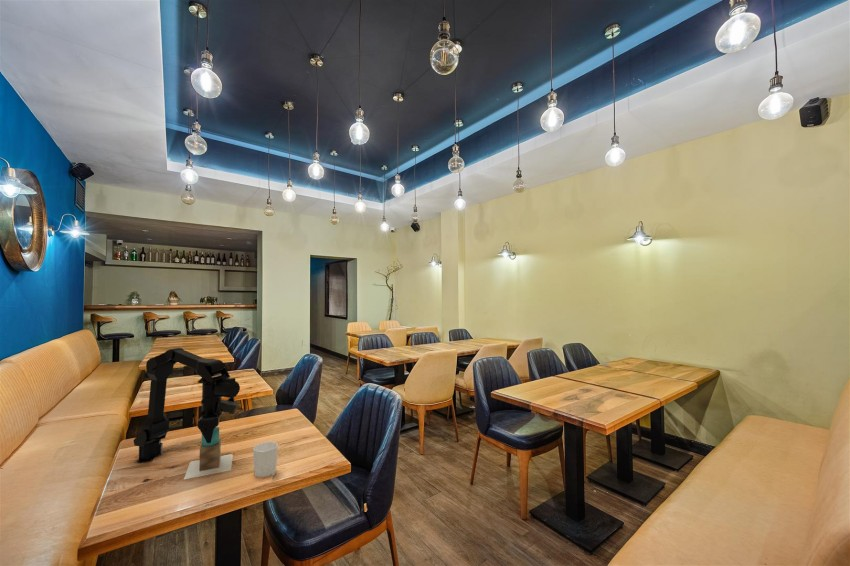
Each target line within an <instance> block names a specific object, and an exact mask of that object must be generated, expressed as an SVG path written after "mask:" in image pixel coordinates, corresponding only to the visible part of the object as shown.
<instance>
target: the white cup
mask: <svg viewBox="0 0 850 566" xmlns="http://www.w3.org/2000/svg"><path fill="white" fill-rule="evenodd" d="M278 447H279V444H278V443H277V442H275V441H265V442H261V443H260V442H259V443H258V444H256V445H254V446H253V449H252V450H253V454H252V455H253V470H254V476H255V477H256V478H266V477H269V476H271V477H272V476H275V475H276V472H277V465H278V464H277V463H278V462H277V461H278Z"/></svg>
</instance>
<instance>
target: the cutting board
mask: <svg viewBox="0 0 850 566" xmlns="http://www.w3.org/2000/svg"><path fill="white" fill-rule="evenodd" d="M233 457H234V453H231V454H224V455H220V465H219V468H214V469H209V470H204V471H199V464H200V459H198V460H197V459H196V460H191V461H190V462H189V464H188V467H187V470H186V472H185V475H184V478H183V481H184V480H189V479H194V478H199V477H203V476H208V475H213V474H219V473H224V472H229V471H230V472H231V470H232V465H233Z"/></svg>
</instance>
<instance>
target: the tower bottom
mask: <svg viewBox="0 0 850 566" xmlns="http://www.w3.org/2000/svg"><path fill="white" fill-rule="evenodd" d="M220 453H221V450H220ZM220 456H221V454H220V455H219V456H218V457H213V458H207V459H202V460H200V459H199V460H200V464H199V471H204V470H209V469H214V468H219V465H220Z"/></svg>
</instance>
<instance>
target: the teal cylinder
mask: <svg viewBox="0 0 850 566" xmlns="http://www.w3.org/2000/svg"><path fill="white" fill-rule="evenodd" d="M219 439H220V427H219V426H217V427H215V428H214V431H213V435H212V440H211V443H207V442H206V440H205V438H204V436H203V434H202V433H201V443H202V447H210V446H214V445H216V444H218V443H219Z"/></svg>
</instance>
